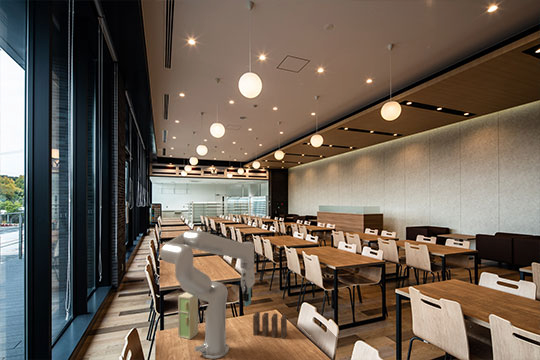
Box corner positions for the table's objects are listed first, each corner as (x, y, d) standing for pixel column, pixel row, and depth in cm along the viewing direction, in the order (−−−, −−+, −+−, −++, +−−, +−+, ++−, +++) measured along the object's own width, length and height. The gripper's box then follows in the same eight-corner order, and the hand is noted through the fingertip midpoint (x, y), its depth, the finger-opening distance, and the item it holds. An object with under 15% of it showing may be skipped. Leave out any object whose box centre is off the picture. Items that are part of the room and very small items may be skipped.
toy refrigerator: (176, 337, 139) (177, 296, 141) (186, 331, 146) (186, 291, 148) (189, 340, 136) (189, 298, 138) (198, 333, 143) (198, 293, 144)
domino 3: (262, 336, 139) (262, 316, 140) (265, 331, 144) (264, 312, 145) (266, 336, 139) (265, 316, 140) (268, 332, 144) (268, 312, 144)
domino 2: (253, 335, 141) (253, 315, 141) (256, 330, 145) (256, 311, 146) (256, 335, 140) (256, 315, 141) (259, 331, 145) (259, 312, 146)
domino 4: (271, 337, 138) (271, 317, 139) (274, 332, 143) (273, 313, 144) (275, 338, 137) (275, 317, 138) (277, 333, 142) (277, 313, 143)
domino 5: (281, 338, 137) (280, 318, 137) (283, 334, 141) (282, 314, 142) (284, 339, 136) (284, 318, 137) (286, 334, 141) (286, 314, 142)
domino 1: (244, 305, 143) (244, 286, 144) (247, 302, 148) (247, 283, 149) (247, 306, 143) (247, 286, 143) (251, 302, 147) (250, 284, 148)
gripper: (248, 269, 138) (248, 305, 136) (258, 261, 154) (259, 294, 153) (234, 268, 140) (235, 304, 138) (246, 261, 156) (246, 293, 155)
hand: (247, 298), depth 146 cm, fingers closed on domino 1, 4 cm apart
